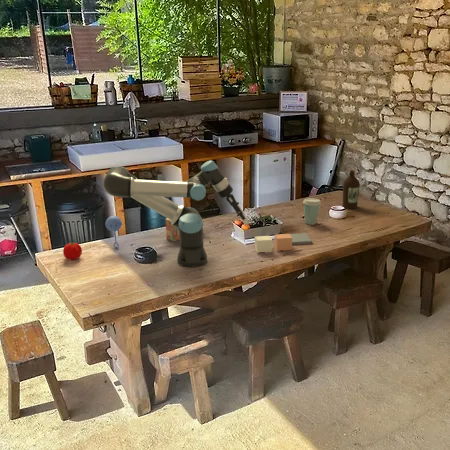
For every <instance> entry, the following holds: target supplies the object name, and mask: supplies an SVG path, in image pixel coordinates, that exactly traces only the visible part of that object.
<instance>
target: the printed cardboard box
mask: <svg viewBox="0 0 450 450" xmlns="http://www.w3.org/2000/svg"><path fill="white" fill-rule="evenodd" d="M201 218H202V219H203V217H201ZM165 232H166V233H165V235H166V239H167V240H169V241H171V242H176V241H180V234H179V228H178V227H176V226H174V225H173V224H171V220H170V219H168V218H166V217H165Z"/></svg>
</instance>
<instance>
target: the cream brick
mask: <svg viewBox="0 0 450 450" xmlns="http://www.w3.org/2000/svg"><path fill="white" fill-rule="evenodd" d="M254 250H255V252H256V254H260V253H259V252H265V253H273V239H272V237H271V235H261V236H260V235H259V236H258V235H257V236H254Z"/></svg>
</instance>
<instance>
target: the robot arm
mask: <svg viewBox="0 0 450 450" xmlns="http://www.w3.org/2000/svg"><path fill="white" fill-rule="evenodd" d="M200 170H201V171H200V172H198V173H197V174H195V175H194V176H192V177H190V178H189V179H187V180H186V181H175V180H174V181H173V180H172V181H170V180H155V179H154V180H152V179H151V180H150V179H138V176H137V177H136V176H135V175H134V174H131V173H130V171H129V170H128V169H127V168H126V167H124V166H121V165H120V166H119V165H118V166H117V165H116V166H113V167H111V168H109V170H108V171H107V172H106V174H105V177H104V179H103V182H102V183H103V184H102V185H103V186H102V187H103V189H104V191H105V192H106V194H108V195H110V196H113V197H115V198H132V199H133V200H135V201H137V202H139V203H140V204H142V205H144V206H145V207H147V208H149V209H151V210H152V211H154V212H156V213H158V214H160V215H161V216H163V217H164V218H165V219H166V218H168V219H170V220H171V224H173V225H174V226H176V227H178V228H179V234H180V240H179V247H180V248H179V251H178V253H177V259H176V260H177V261H176V262H177V264H178V265H180V266H181V267H186V268H196V267H201V266H203V265H205V264H206V263H208V254H207V252H206V249H205V245H204V222H203V221H204V220H203V217H202V218H201V214H200V212H199V211H198V210H197V209H195V208H193V207H188V206H186V205H185V204H180V205H179V204H177V203H175V202H174V201H172V200H170V199H169V198H187V199H191V198H192V199H193V200H194V201H201V200H203V199H204V198H205V197H206V193H207V190H206V187H207V186H208V185H210V184H211V186H212V187H213V189H214V190H215V191H216V192H217V194H218V196H219V197H220V198H221V199H222V198H223V199H224V198H225V200H226V201H227V203H228V204H229V205H230V206H231V207H232V208H233V209H234V212H236V214H237V215H236V217H238V218H239V219H240V221H242V223H243V224H244V225H245V226H247V225H248V224H250V220H249V219H248V218H247V216H246V213H245V212H244V210H243V209H242V207H241V206H240V202H237V200H236V198H235V196H234V194H233V190H234V189H233V187H232V186H231V184H229V182H228V178H227V177H225V176H224V175H223V173H222V171H221V169H220V168H219V167H218V165H217V163H215V161H213V160H208V161H206V162H204V163H203V164H202V165H201V166H200Z"/></svg>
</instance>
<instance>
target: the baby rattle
mask: <svg viewBox="0 0 450 450" xmlns="http://www.w3.org/2000/svg"><path fill="white" fill-rule="evenodd" d="M122 225H123V221H122V220H121V218H120V217H119V216H117V215H111V216H108V218H107V219H106V221H105V227H106V229H107V230H108V231H110V232H113V233H114V243H113V246H114V248H115V247H117V248H116V249H119V248H120V245H119V244H118V242H117V236H116V232H118V231H119V230H120V229H121V228H122Z"/></svg>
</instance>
